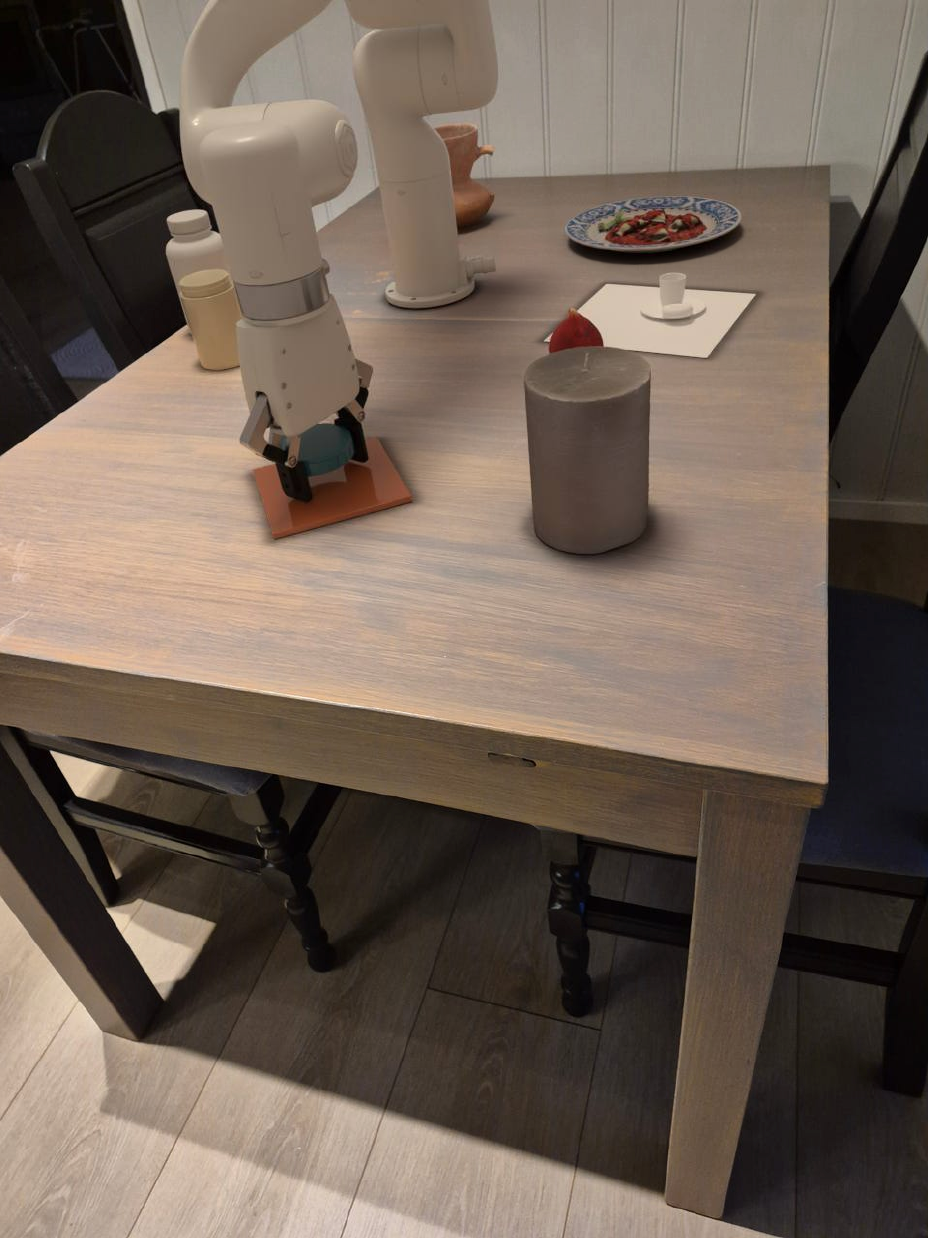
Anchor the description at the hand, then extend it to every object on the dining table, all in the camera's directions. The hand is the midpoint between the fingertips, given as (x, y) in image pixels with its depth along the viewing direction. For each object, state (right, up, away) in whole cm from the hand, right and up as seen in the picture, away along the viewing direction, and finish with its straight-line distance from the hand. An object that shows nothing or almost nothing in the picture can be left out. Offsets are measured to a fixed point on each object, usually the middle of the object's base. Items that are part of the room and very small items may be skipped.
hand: (327, 476), depth 85 cm
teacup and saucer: (+36, +23, +24) cm, 50 cm away
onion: (+26, +12, +13) cm, 31 cm away
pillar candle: (+24, -6, -9) cm, 26 cm away
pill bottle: (-21, +27, +39) cm, 52 cm away
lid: (-1, +3, -1) cm, 3 cm away
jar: (-17, +20, +30) cm, 40 cm away
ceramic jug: (+10, +54, +66) cm, 86 cm away
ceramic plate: (+41, +44, +49) cm, 78 cm away
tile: (0, -1, +1) cm, 1 cm away
